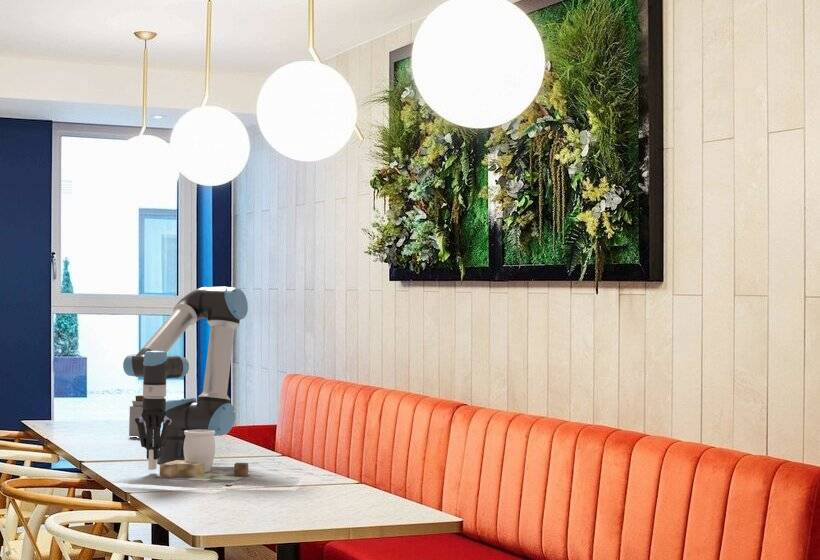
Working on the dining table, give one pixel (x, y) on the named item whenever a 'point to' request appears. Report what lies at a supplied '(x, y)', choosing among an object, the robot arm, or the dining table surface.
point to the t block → (182, 469)
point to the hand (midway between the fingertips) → (152, 469)
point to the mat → (209, 478)
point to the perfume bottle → (135, 415)
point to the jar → (200, 447)
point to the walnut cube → (240, 469)
